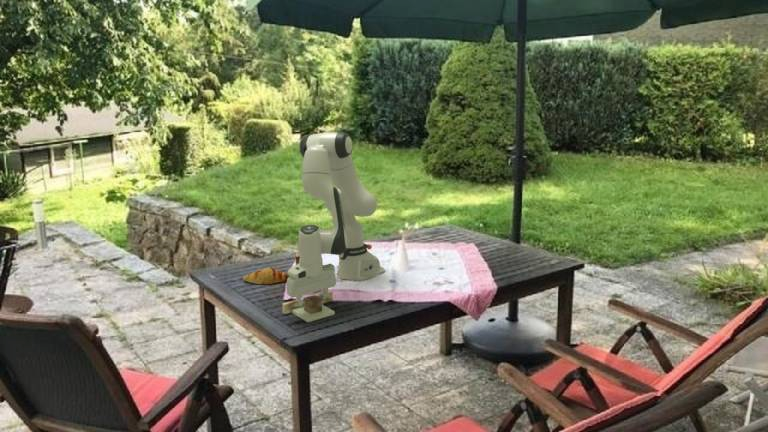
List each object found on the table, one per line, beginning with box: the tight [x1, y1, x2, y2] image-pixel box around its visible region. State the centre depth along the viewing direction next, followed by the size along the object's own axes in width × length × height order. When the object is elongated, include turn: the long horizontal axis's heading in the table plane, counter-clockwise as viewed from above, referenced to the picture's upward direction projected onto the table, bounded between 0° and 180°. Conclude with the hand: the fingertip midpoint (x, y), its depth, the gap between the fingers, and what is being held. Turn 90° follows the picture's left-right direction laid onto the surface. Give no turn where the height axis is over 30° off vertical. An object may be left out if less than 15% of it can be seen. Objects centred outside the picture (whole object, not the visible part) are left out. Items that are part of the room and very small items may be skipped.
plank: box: [281, 290, 334, 315], centre depth 254 cm, size 22×2×4 cm, turn 127°
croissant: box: [242, 266, 289, 286], centre depth 283 cm, size 21×10×8 cm
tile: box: [291, 304, 336, 323], centre depth 248 cm, size 12×12×1 cm
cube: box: [303, 294, 323, 314], centre depth 247 cm, size 5×5×5 cm
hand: (312, 302), depth 247 cm, fingers open, 8 cm apart
